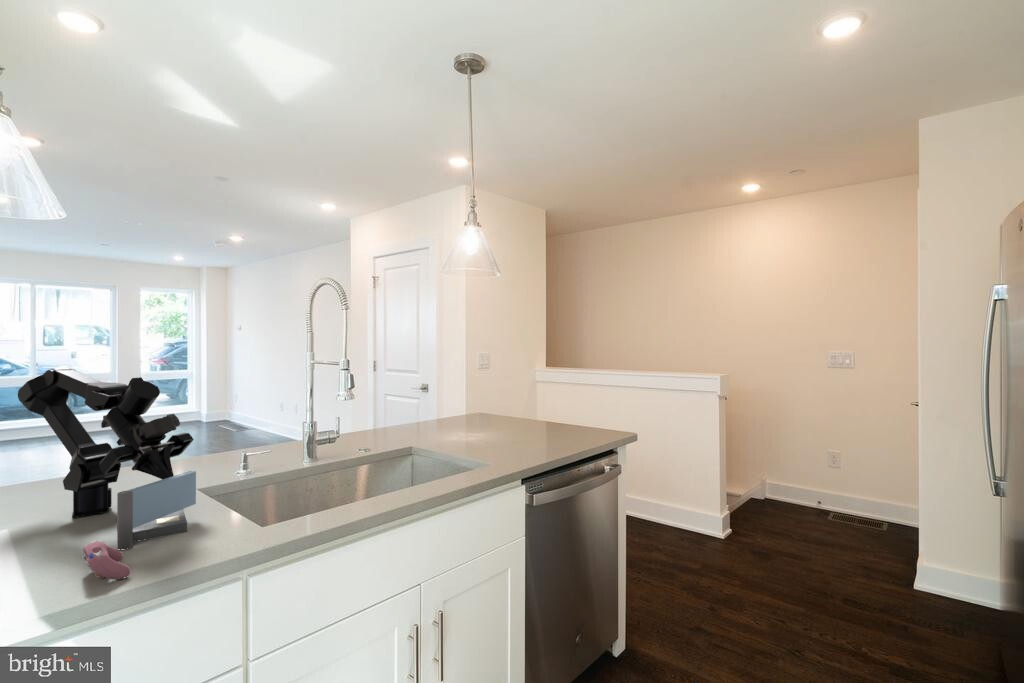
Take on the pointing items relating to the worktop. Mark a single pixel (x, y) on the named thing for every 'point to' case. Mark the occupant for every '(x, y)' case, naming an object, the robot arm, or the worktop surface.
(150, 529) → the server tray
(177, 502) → the light blue flat slab
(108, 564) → the video game controller
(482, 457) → the worktop surface
